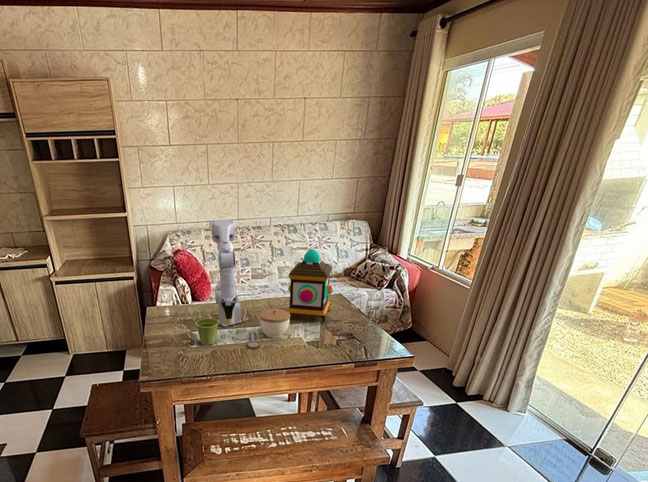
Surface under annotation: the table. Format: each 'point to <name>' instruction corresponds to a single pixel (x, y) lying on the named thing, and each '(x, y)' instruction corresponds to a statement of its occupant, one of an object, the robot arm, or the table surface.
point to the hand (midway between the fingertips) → (228, 316)
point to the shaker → (228, 321)
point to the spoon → (253, 342)
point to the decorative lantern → (310, 287)
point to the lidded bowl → (274, 322)
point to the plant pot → (207, 330)
